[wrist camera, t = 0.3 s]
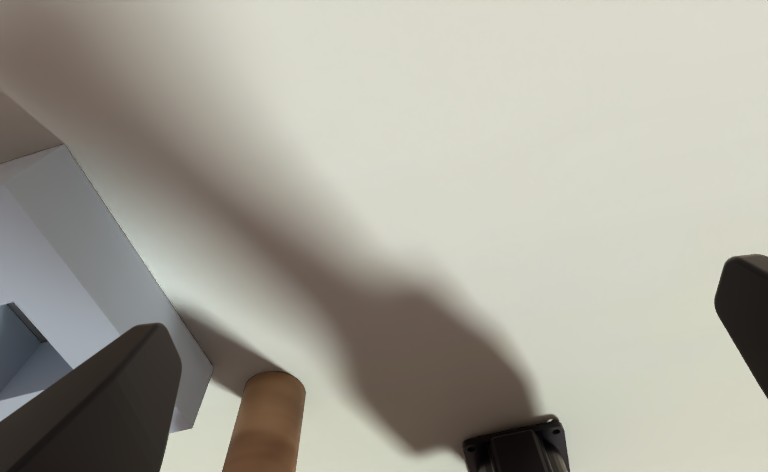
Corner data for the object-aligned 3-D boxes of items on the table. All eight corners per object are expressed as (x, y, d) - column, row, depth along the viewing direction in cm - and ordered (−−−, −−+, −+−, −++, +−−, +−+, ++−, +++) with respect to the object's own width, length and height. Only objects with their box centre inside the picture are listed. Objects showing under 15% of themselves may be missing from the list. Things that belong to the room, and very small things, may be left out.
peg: (314, 405, 29) (298, 544, 23) (259, 417, 30) (228, 558, 23) (292, 365, 28) (268, 503, 21) (234, 379, 28) (192, 519, 21)
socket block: (213, 368, 27) (192, 428, 24) (44, 409, 29) (1, 471, 25) (64, 144, 20) (3, 183, 17) (-152, 211, 22) (-249, 260, 18)
